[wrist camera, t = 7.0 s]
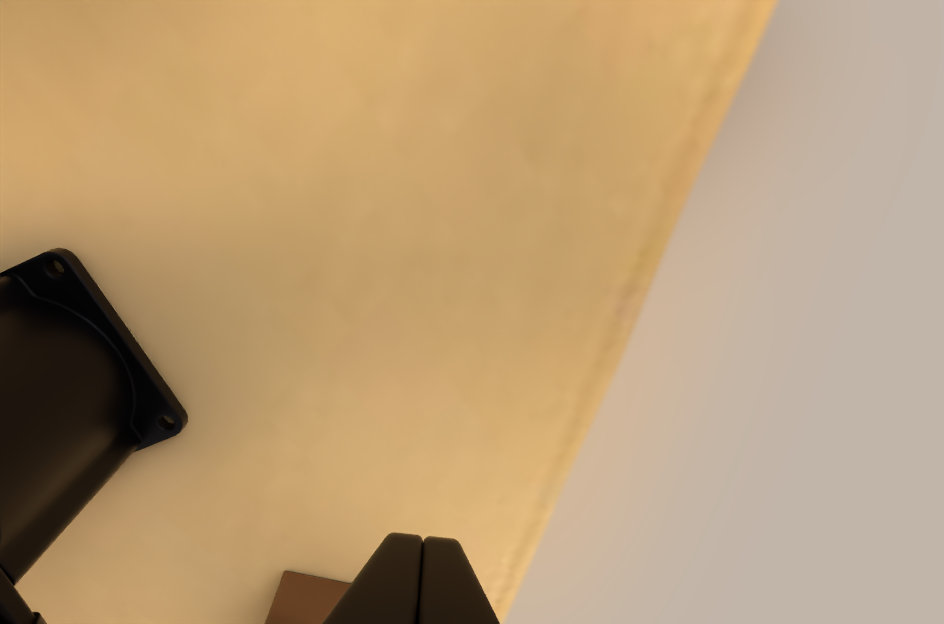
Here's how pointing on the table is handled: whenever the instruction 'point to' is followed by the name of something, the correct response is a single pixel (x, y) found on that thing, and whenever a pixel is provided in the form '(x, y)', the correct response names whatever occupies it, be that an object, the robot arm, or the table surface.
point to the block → (304, 599)
